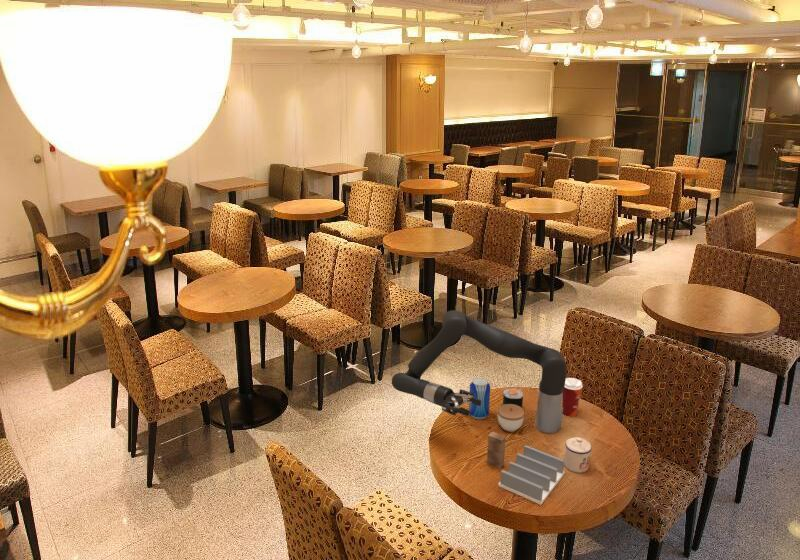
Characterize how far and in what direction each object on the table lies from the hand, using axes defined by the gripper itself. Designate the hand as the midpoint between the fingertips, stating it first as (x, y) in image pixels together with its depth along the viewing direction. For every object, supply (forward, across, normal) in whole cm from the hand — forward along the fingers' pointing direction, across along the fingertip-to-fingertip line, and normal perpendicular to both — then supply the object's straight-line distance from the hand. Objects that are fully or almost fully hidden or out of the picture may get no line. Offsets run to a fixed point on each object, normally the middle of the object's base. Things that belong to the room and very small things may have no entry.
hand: (475, 408), depth 216 cm
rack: (+24, 0, +20) cm, 31 cm away
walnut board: (+10, 0, +20) cm, 22 cm away
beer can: (-12, +25, +20) cm, 34 cm away
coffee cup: (+18, +49, +20) cm, 56 cm away
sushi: (-3, +38, +20) cm, 44 cm away
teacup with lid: (+34, +18, +20) cm, 43 cm away
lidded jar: (+3, +25, +20) cm, 32 cm away
